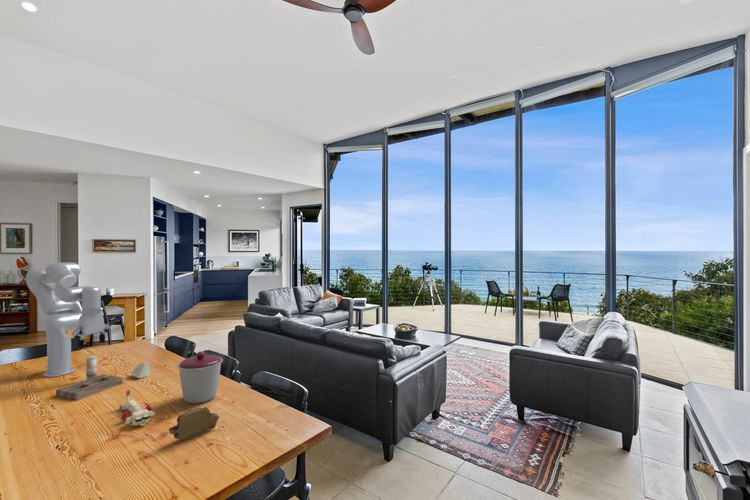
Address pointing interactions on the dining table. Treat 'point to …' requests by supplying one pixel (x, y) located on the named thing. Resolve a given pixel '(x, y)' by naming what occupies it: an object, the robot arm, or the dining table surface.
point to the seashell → (141, 370)
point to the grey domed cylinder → (91, 367)
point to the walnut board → (89, 387)
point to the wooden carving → (194, 423)
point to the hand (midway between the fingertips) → (91, 344)
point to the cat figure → (135, 412)
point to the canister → (200, 377)
